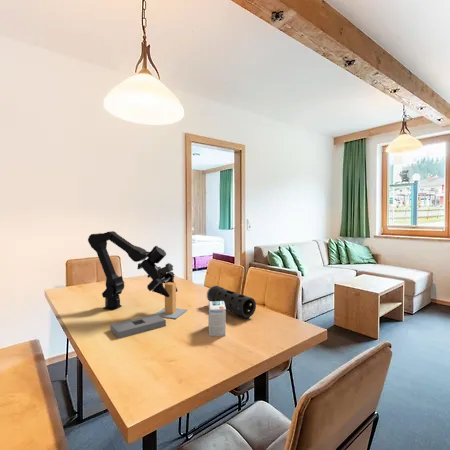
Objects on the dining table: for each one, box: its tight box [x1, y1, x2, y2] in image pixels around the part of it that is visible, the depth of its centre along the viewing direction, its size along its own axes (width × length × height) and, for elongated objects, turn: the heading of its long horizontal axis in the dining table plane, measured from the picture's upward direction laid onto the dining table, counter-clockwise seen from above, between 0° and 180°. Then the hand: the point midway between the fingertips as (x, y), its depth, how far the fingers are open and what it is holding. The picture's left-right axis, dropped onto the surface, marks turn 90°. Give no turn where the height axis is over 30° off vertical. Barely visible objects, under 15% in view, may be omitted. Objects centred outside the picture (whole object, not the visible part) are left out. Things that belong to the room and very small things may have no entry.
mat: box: [154, 307, 188, 320], centre depth 138 cm, size 12×12×1 cm
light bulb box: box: [208, 300, 227, 337], centre depth 118 cm, size 11×7×11 cm, turn 5°
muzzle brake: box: [206, 285, 257, 320], centre depth 141 cm, size 10×28×10 cm, turn 39°
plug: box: [164, 282, 177, 314], centre depth 138 cm, size 4×4×14 cm
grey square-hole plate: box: [109, 313, 167, 339], centre depth 120 cm, size 10×20×2 cm, turn 129°
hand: (173, 293), depth 137 cm, fingers open, 9 cm apart
